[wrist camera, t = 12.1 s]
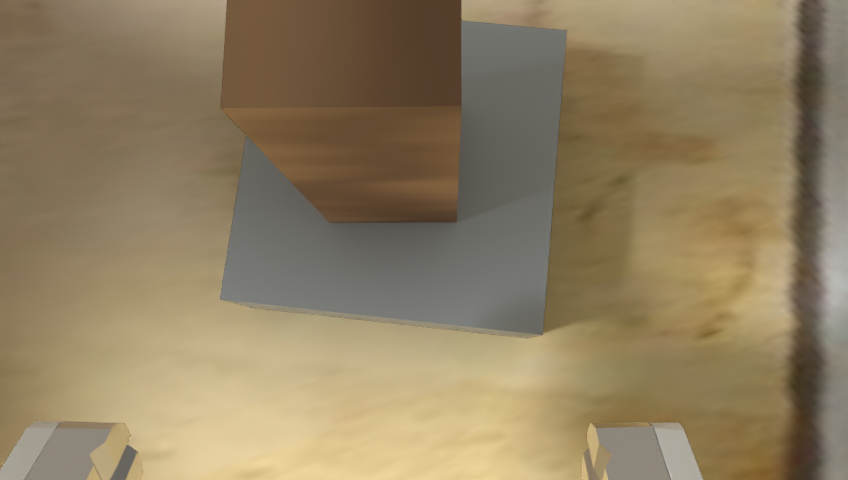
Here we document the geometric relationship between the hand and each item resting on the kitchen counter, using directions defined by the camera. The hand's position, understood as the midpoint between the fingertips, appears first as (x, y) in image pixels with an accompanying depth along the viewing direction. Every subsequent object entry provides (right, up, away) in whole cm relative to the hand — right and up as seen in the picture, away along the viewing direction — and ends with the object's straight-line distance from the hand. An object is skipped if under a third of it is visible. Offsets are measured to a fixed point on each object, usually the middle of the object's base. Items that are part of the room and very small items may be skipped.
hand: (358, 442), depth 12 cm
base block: (0, +5, +13) cm, 14 cm away
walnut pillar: (0, +6, +9) cm, 11 cm away
